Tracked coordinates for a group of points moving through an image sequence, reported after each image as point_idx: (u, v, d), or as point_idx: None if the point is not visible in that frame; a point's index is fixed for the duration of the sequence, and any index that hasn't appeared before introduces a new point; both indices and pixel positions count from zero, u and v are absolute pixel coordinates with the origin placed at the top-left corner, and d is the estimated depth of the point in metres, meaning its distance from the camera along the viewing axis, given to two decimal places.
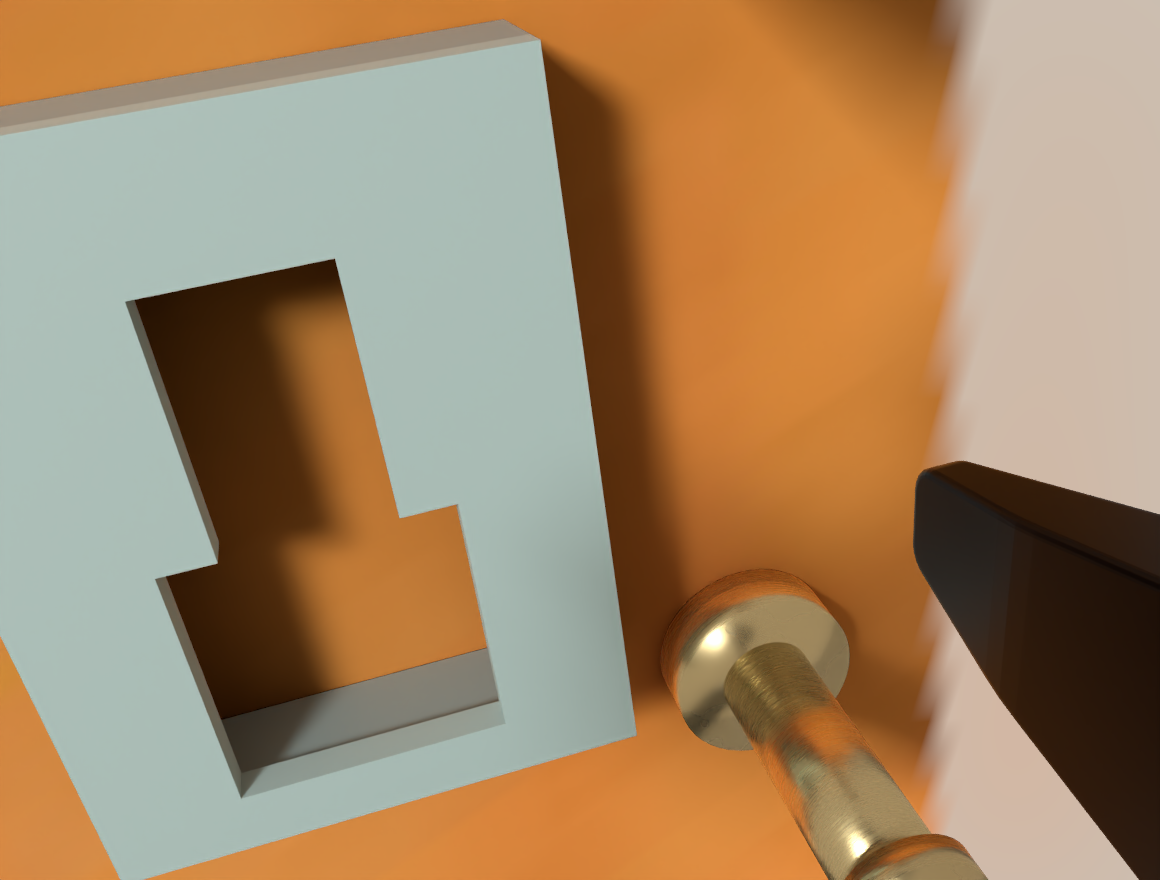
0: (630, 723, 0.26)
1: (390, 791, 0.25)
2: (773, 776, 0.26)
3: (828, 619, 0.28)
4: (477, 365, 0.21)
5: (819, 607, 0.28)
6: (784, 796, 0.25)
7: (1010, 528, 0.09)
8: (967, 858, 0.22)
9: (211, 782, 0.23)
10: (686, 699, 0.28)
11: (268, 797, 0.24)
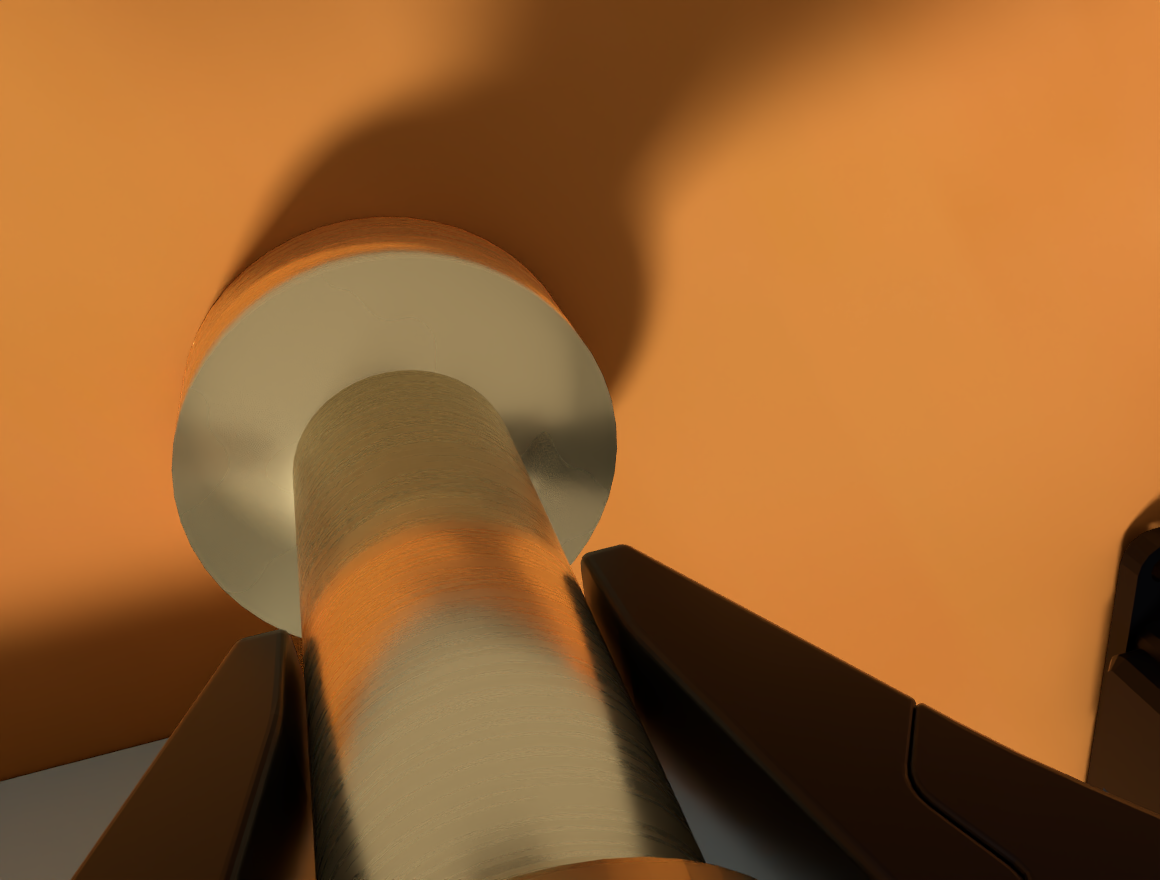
0: None
1: None
2: None
3: (230, 346, 0.11)
4: None
5: (201, 364, 0.11)
6: None
7: (623, 630, 0.08)
8: None
9: None
10: None
11: None
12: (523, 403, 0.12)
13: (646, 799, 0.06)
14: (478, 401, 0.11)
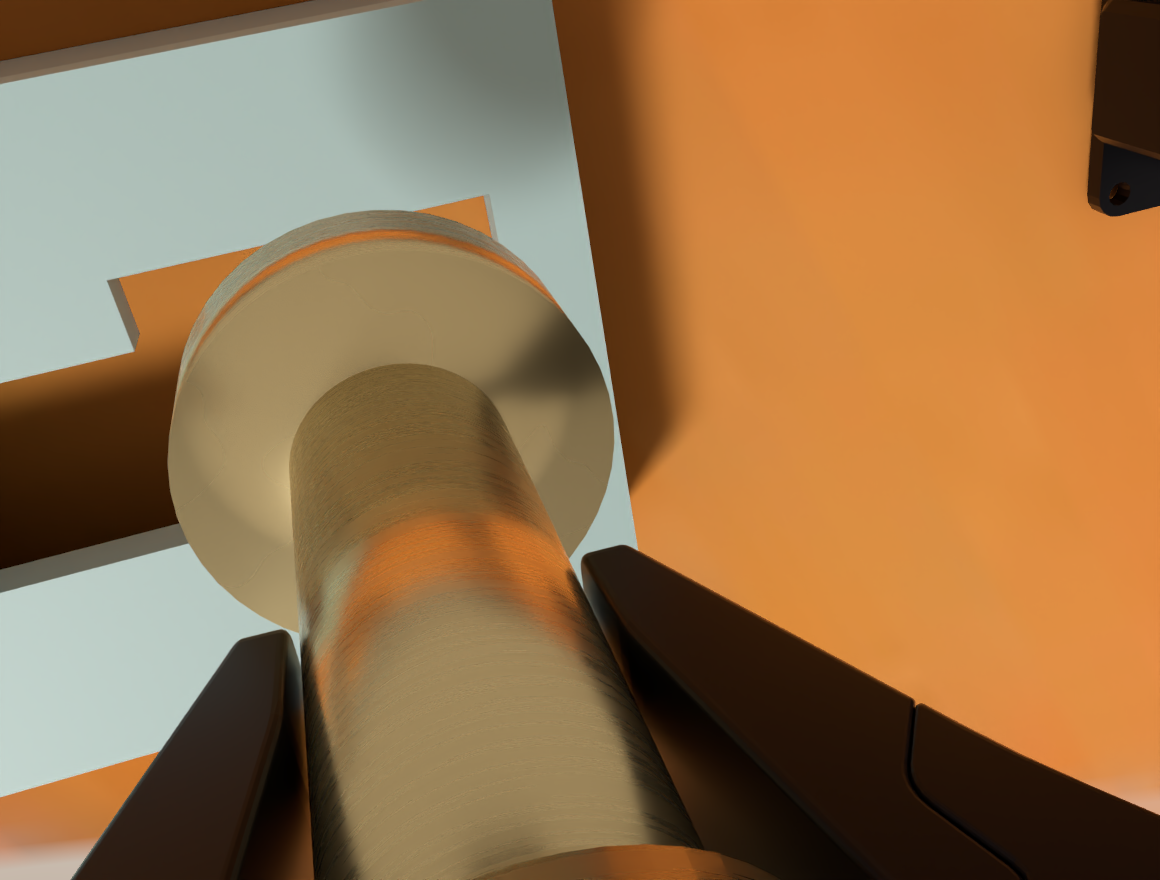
0: None
1: None
2: None
3: (227, 339, 0.11)
4: None
5: (197, 357, 0.11)
6: None
7: (622, 630, 0.08)
8: None
9: None
10: None
11: None
12: (520, 397, 0.12)
13: (646, 789, 0.06)
14: (475, 394, 0.11)
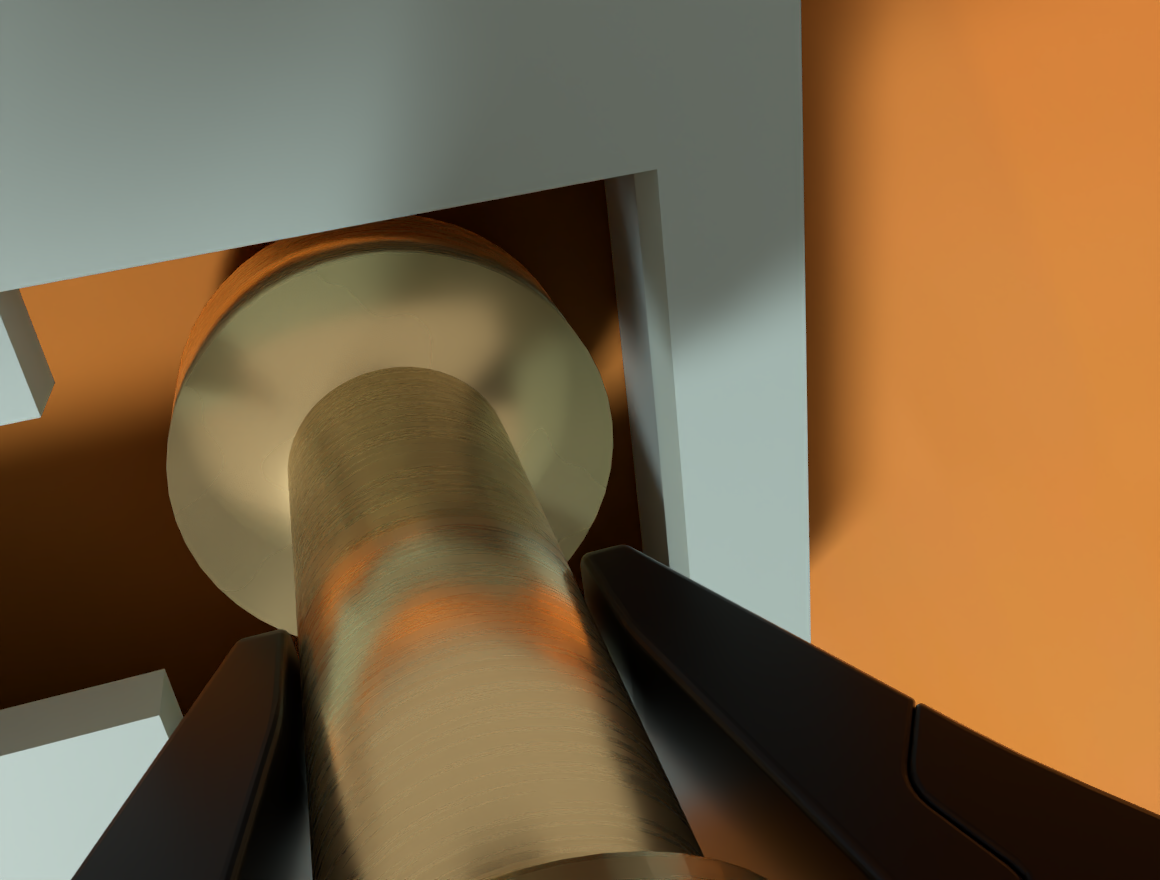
0: None
1: (766, 414, 0.12)
2: None
3: (225, 343, 0.11)
4: None
5: (195, 360, 0.11)
6: None
7: (622, 630, 0.08)
8: None
9: None
10: None
11: None
12: (519, 400, 0.12)
13: (645, 794, 0.06)
14: (474, 398, 0.11)
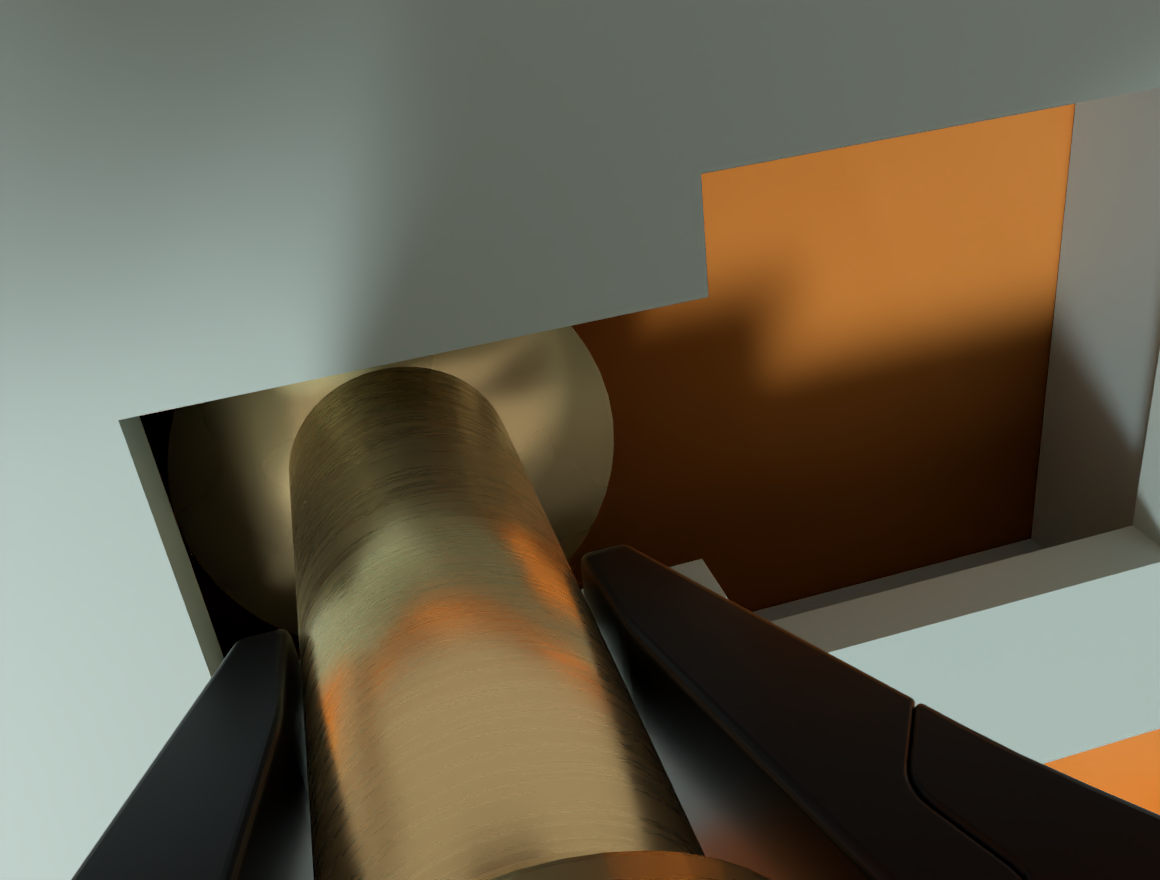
0: None
1: None
2: None
3: None
4: (364, 126, 0.09)
5: None
6: None
7: (622, 629, 0.08)
8: None
9: (1124, 598, 0.14)
10: None
11: None
12: (520, 400, 0.12)
13: (646, 794, 0.06)
14: (475, 398, 0.11)
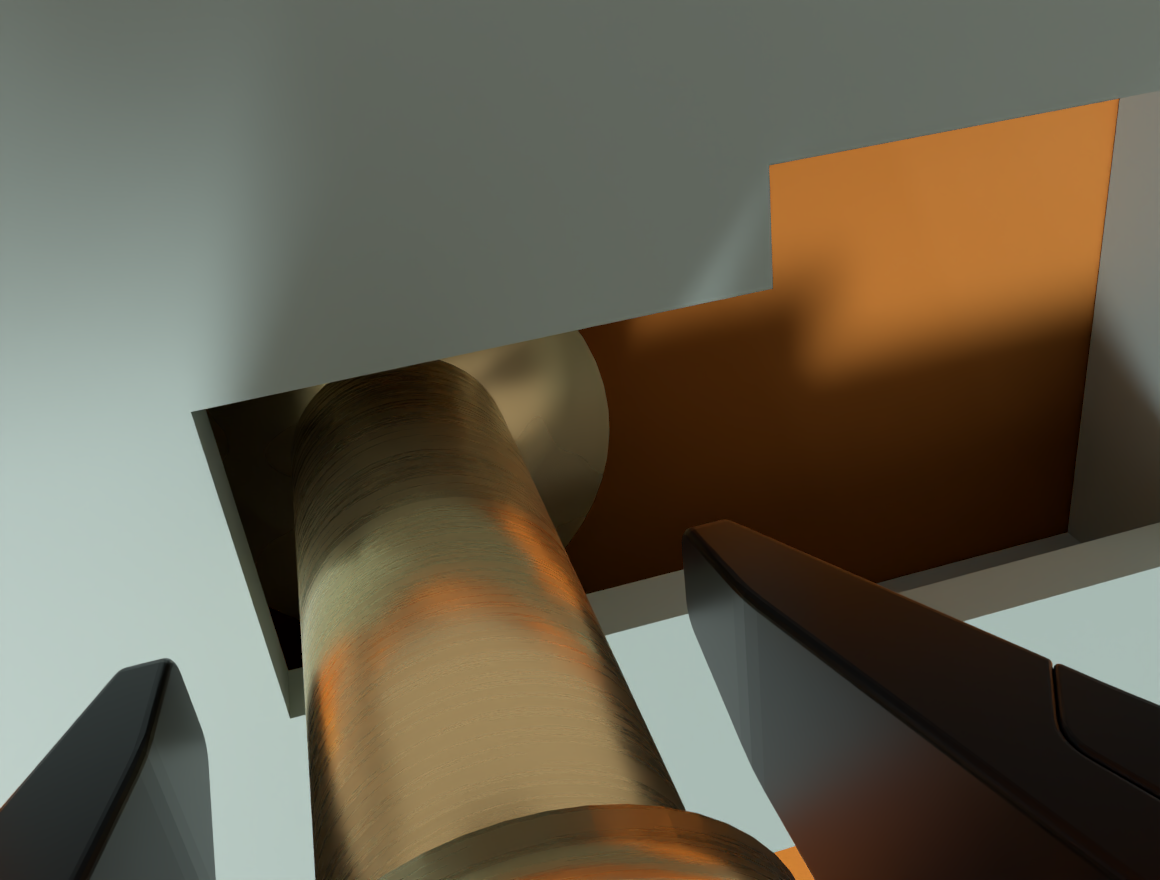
0: None
1: None
2: None
3: None
4: (440, 117, 0.09)
5: None
6: None
7: (740, 599, 0.08)
8: None
9: None
10: None
11: None
12: (517, 388, 0.12)
13: (632, 758, 0.07)
14: (472, 386, 0.12)
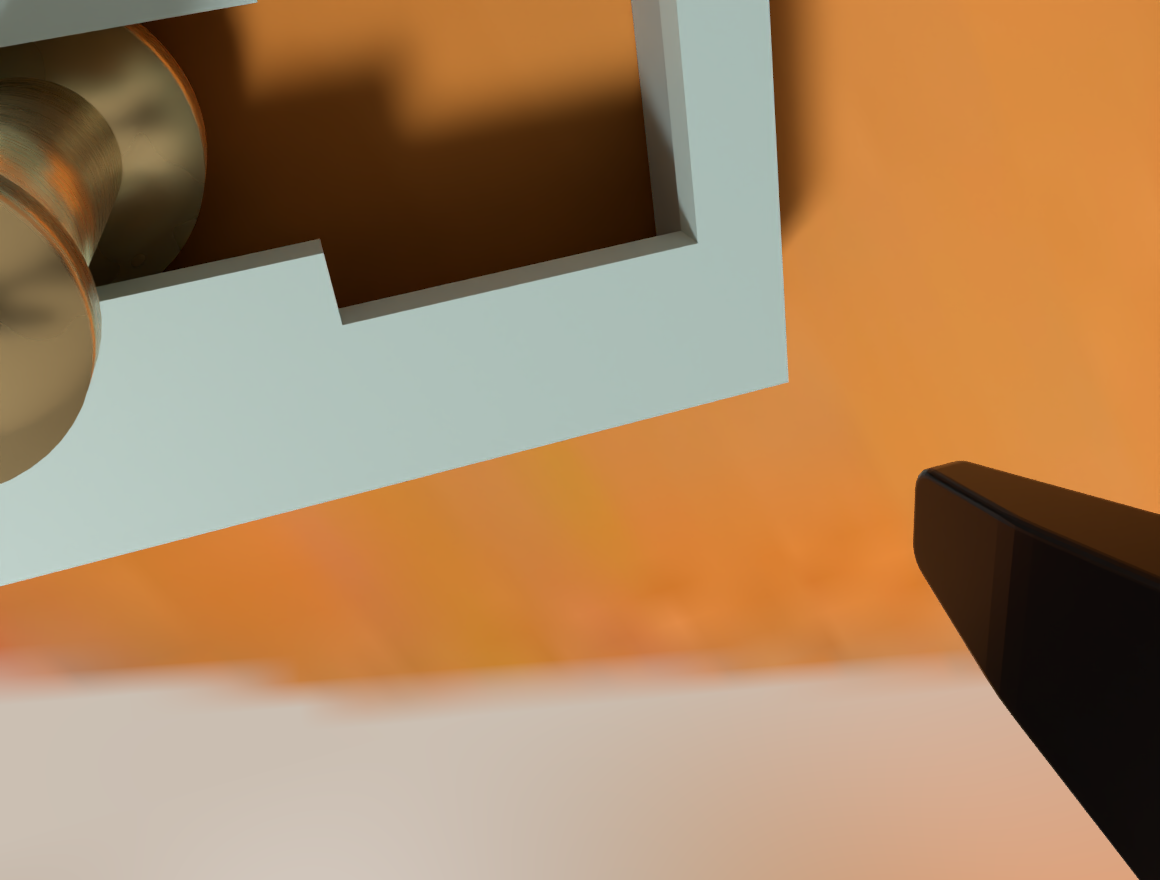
0: None
1: (742, 38, 0.17)
2: None
3: None
4: None
5: None
6: None
7: (1010, 528, 0.09)
8: None
9: (662, 277, 0.18)
10: None
11: (705, 209, 0.18)
12: (120, 108, 0.16)
13: None
14: (74, 97, 0.16)
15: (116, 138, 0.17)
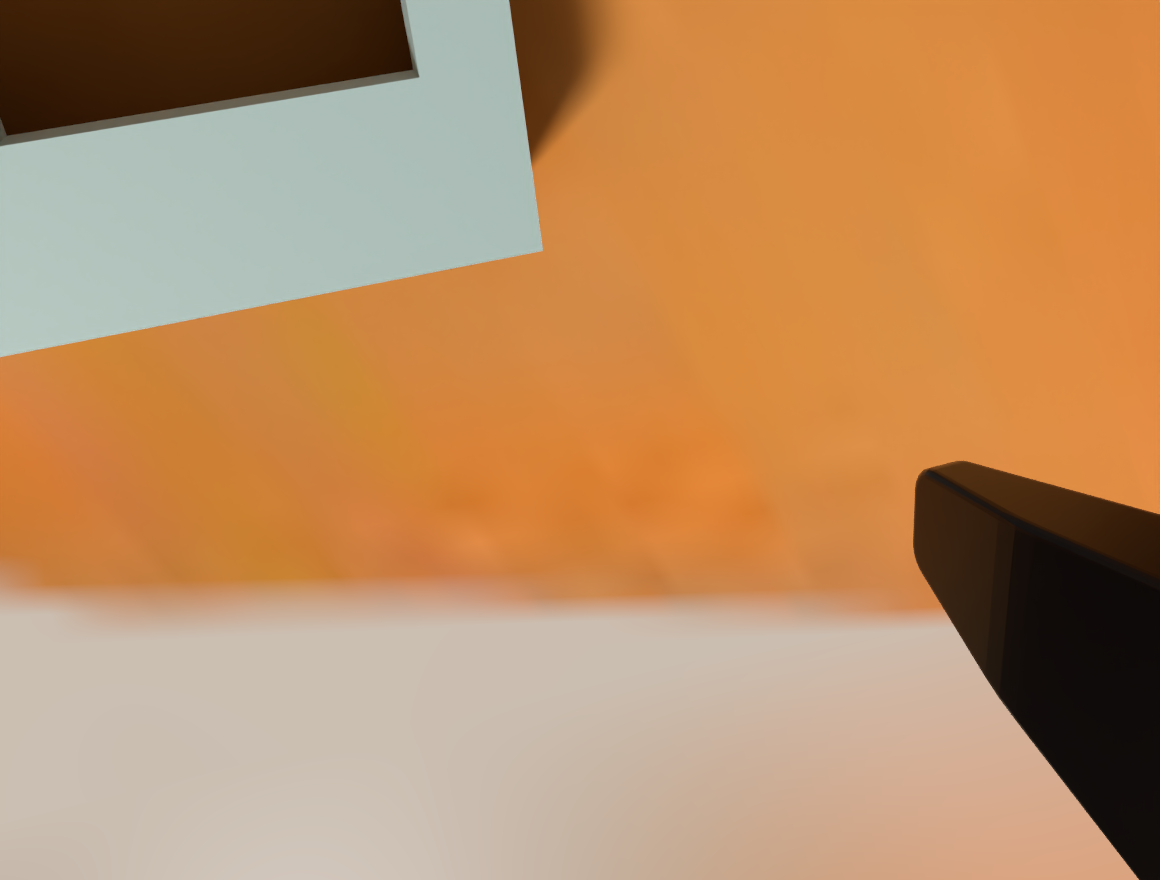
0: None
1: None
2: None
3: None
4: None
5: None
6: None
7: (1010, 528, 0.09)
8: None
9: (380, 115, 0.16)
10: None
11: (424, 37, 0.16)
12: None
13: None
14: None
15: None
